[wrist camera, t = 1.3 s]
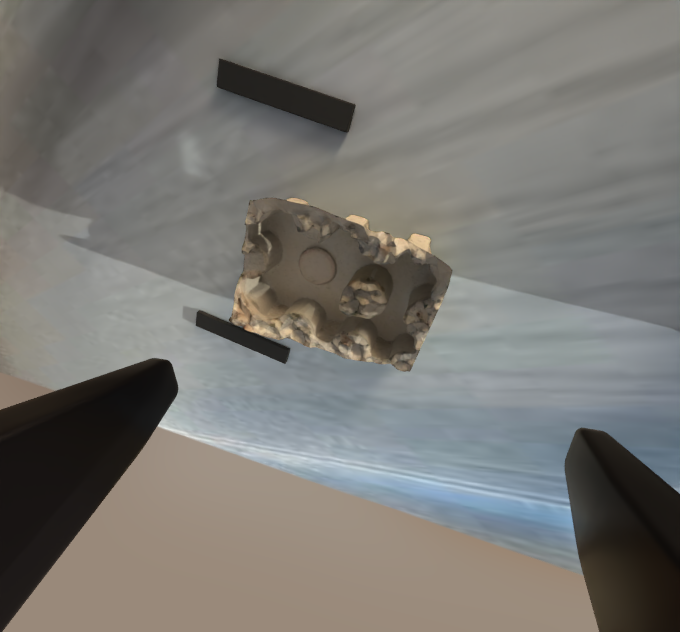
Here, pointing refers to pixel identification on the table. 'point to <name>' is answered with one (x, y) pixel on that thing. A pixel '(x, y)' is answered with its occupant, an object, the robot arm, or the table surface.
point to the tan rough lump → (337, 283)
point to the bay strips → (296, 103)
